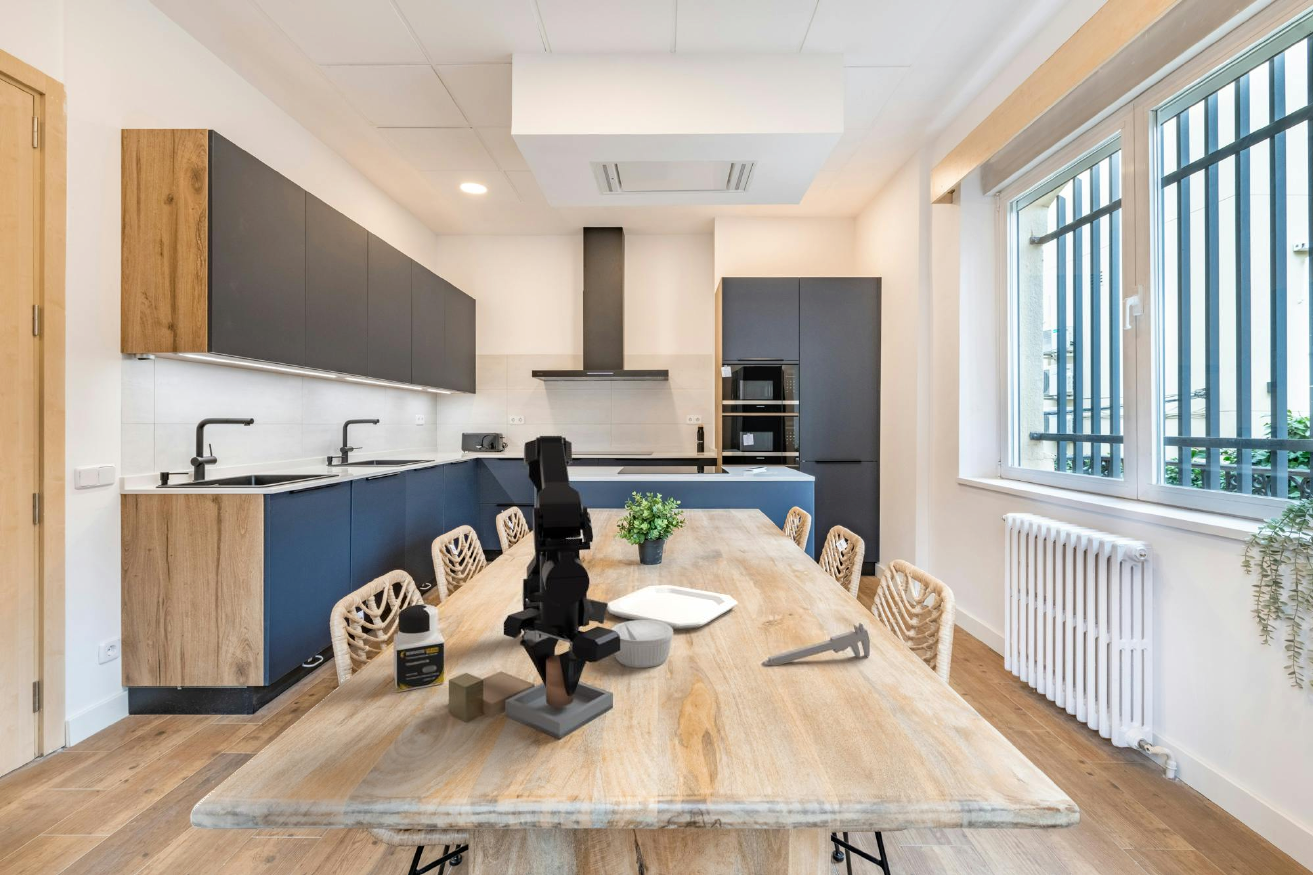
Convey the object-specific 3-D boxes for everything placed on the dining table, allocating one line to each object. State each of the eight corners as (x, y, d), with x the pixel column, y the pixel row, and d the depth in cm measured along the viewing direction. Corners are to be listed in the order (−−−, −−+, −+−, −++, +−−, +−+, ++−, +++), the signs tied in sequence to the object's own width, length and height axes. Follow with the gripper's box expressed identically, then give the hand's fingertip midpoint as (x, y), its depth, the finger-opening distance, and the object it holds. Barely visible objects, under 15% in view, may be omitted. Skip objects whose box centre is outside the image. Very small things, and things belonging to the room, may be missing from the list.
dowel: (560, 691, 88) (560, 652, 88) (579, 698, 86) (579, 658, 86) (540, 701, 85) (540, 660, 85) (559, 709, 83) (559, 667, 83)
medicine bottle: (396, 693, 91) (396, 617, 91) (393, 676, 98) (393, 604, 97) (444, 684, 95) (444, 610, 94) (438, 668, 101) (438, 598, 101)
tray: (560, 688, 93) (560, 674, 93) (613, 707, 87) (613, 692, 87) (505, 715, 84) (505, 700, 84) (559, 739, 78) (559, 723, 78)
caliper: (866, 656, 107) (866, 622, 107) (869, 658, 106) (870, 624, 106) (761, 665, 103) (761, 630, 103) (764, 667, 102) (764, 632, 102)
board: (501, 686, 95) (501, 671, 95) (534, 700, 90) (534, 684, 90) (458, 705, 88) (458, 688, 88) (492, 720, 84) (492, 703, 84)
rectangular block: (466, 706, 87) (466, 672, 87) (483, 713, 85) (483, 679, 85) (448, 713, 85) (448, 679, 85) (465, 722, 82) (465, 686, 82)
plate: (745, 606, 137) (745, 597, 137) (693, 638, 116) (693, 627, 116) (656, 591, 150) (656, 582, 150) (595, 617, 129) (595, 607, 129)
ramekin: (597, 658, 105) (597, 629, 105) (641, 642, 114) (641, 615, 113) (642, 677, 98) (642, 645, 98) (685, 658, 106) (685, 629, 106)
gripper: (644, 583, 86) (644, 688, 87) (554, 565, 97) (554, 658, 97) (593, 601, 77) (593, 718, 78) (501, 579, 88) (501, 682, 88)
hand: (560, 691), depth 85 cm, fingers open, 4 cm apart
